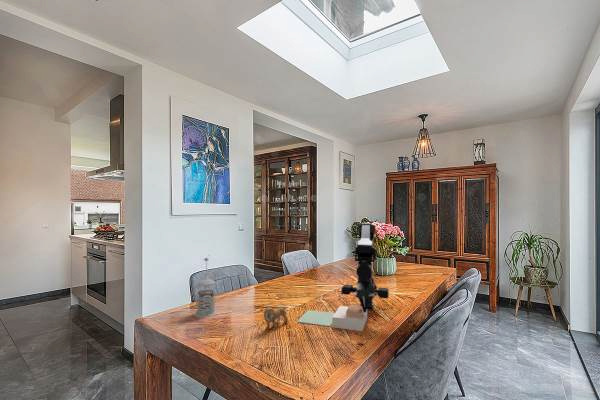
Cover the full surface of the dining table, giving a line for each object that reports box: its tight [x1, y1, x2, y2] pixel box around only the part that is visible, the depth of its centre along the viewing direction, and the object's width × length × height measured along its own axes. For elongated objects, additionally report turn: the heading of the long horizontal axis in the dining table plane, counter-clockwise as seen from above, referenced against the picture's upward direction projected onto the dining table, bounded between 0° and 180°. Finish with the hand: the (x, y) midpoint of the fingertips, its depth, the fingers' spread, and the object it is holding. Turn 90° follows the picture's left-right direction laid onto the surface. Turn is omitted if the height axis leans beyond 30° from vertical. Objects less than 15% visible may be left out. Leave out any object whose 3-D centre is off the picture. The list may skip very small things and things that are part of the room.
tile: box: [346, 304, 364, 318], centre depth 126 cm, size 9×6×2 cm, turn 161°
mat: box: [296, 309, 336, 328], centre depth 131 cm, size 15×14×1 cm
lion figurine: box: [263, 306, 289, 330], centre depth 122 cm, size 15×5×9 cm, turn 153°
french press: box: [190, 257, 218, 319], centre depth 136 cm, size 10×12×25 cm
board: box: [331, 305, 368, 332], centre depth 126 cm, size 15×12×4 cm
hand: (364, 312), depth 125 cm, fingers closed
